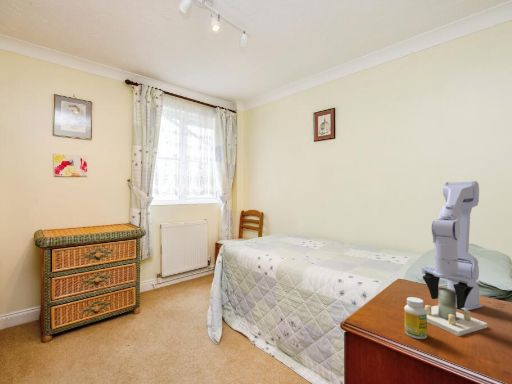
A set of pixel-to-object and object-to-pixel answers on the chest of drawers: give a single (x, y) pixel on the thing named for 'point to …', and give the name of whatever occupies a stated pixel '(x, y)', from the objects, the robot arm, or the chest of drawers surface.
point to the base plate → (454, 321)
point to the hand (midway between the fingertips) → (447, 302)
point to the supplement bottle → (415, 318)
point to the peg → (446, 302)
